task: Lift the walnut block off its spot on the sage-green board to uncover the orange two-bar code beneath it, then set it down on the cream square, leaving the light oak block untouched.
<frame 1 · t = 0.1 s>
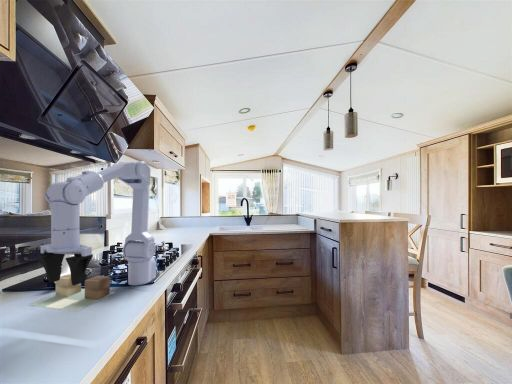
hand: (65, 282, 63), 10 cm above the countertop, tool pointing down, fingers open, 7 cm apart
code board: (74, 301, 75), on the countertop
walnut block: (97, 296, 76), point 1 cm above the countertop, touching code board
oak block: (68, 293, 79), point 1 cm above the countertop, touching code board
white curved piece: (65, 284, 90), on the countertop
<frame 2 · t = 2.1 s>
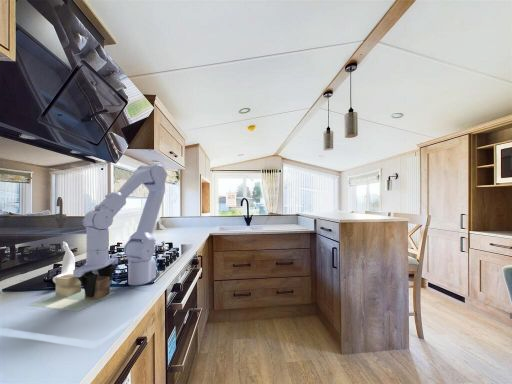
hand: (97, 293, 76), 2 cm above the countertop, tool pointing down, fingers closed on walnut block, 5 cm apart
walnut block: (97, 296, 76), point 1 cm above the countertop, touching code board, gripper
everything else where it was.
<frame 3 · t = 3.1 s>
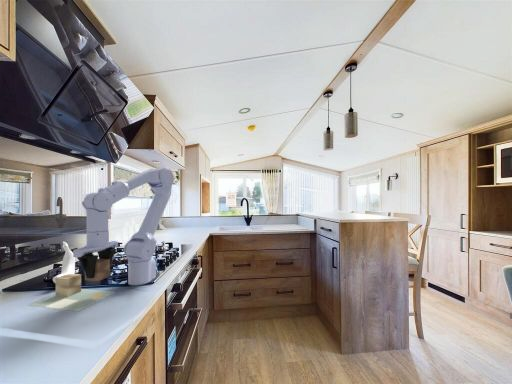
hand: (97, 275, 77), 7 cm above the countertop, tool pointing down, fingers closed on walnut block, 5 cm apart
walnut block: (97, 278, 77), point 7 cm above the countertop, touching gripper
everything else where it was.
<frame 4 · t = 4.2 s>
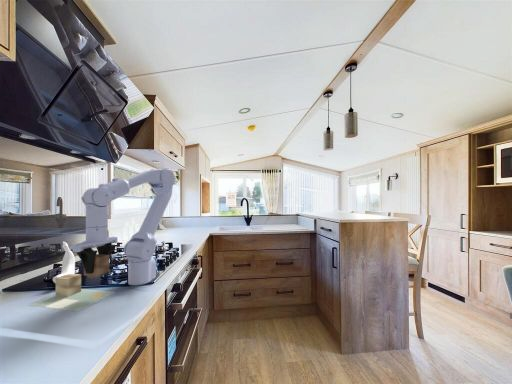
hand: (96, 270, 76), 9 cm above the countertop, tool pointing down, fingers closed on walnut block, 5 cm apart
walnut block: (96, 273, 76), point 8 cm above the countertop, touching gripper
everything else where it was.
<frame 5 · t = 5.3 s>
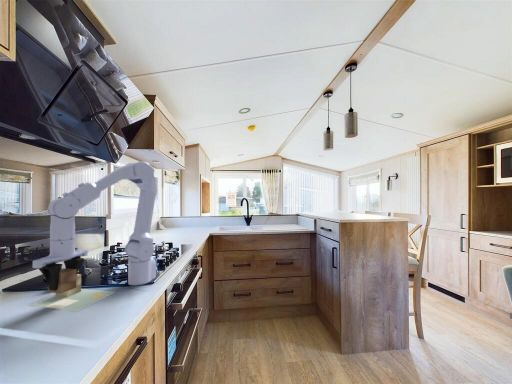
hand: (62, 286, 71), 6 cm above the countertop, tool pointing down, fingers closed on walnut block, 5 cm apart
walnut block: (62, 289, 71), point 5 cm above the countertop, touching gripper
everything else where it was.
when the fingers open (3 cm above the countertop, at t = 6.2 s): walnut block drops 1 cm, resting on code board.
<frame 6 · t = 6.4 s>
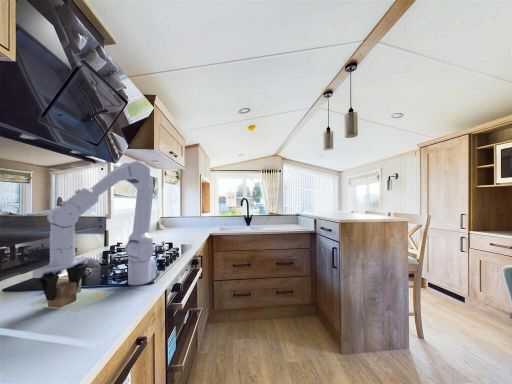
hand: (62, 295, 71), 3 cm above the countertop, tool pointing down, fingers open, 6 cm apart
walnut block: (62, 303, 71), point 1 cm above the countertop, touching code board
everything else where it was.
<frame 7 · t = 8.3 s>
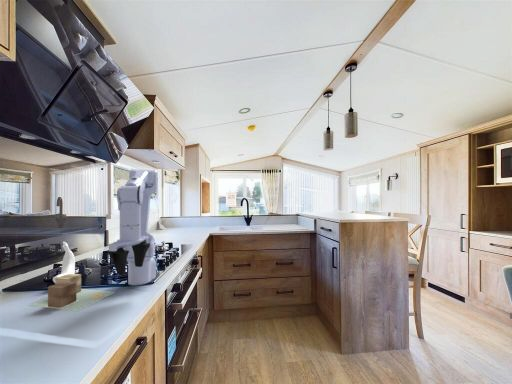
hand: (130, 270, 75), 9 cm above the countertop, tool pointing down, fingers open, 7 cm apart
nothing on the countertop moved.
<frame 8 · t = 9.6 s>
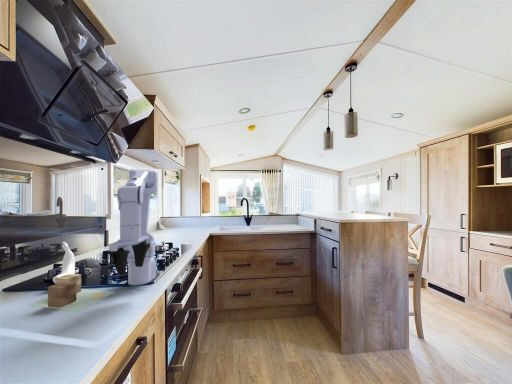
hand: (130, 270, 75), 9 cm above the countertop, tool pointing down, fingers open, 7 cm apart
nothing on the countertop moved.
at the end: walnut block 0.0 cm from the target spot on the code board, point 1.0 cm above the code board's base; walnut block tilted 0°; oak block moved 0.0 cm from its start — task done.
